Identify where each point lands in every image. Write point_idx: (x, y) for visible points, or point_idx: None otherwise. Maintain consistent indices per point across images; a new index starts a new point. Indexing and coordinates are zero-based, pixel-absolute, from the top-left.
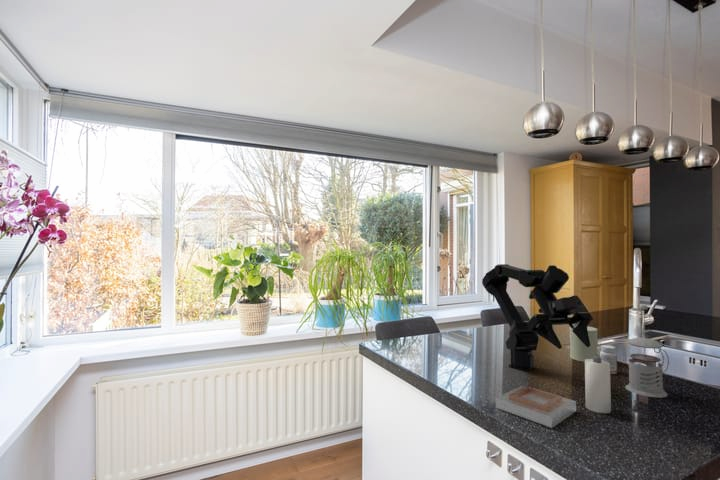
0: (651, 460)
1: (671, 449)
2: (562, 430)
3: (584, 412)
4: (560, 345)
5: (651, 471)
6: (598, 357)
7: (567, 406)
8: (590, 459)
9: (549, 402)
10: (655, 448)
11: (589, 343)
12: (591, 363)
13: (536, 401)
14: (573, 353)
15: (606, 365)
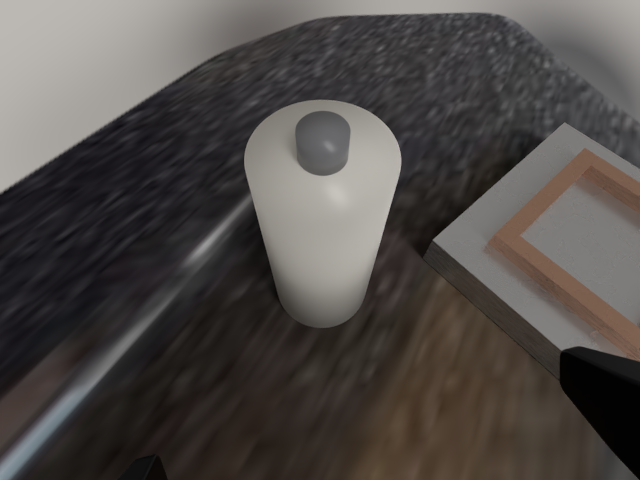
0: (361, 43)
1: (281, 74)
2: (517, 138)
3: (394, 250)
4: (590, 349)
5: (388, 18)
6: (313, 128)
7: (486, 194)
8: (491, 42)
9: (565, 181)
10: (316, 76)
11: (132, 471)
12: (383, 125)
13: (602, 231)
14: None
15: (303, 102)
